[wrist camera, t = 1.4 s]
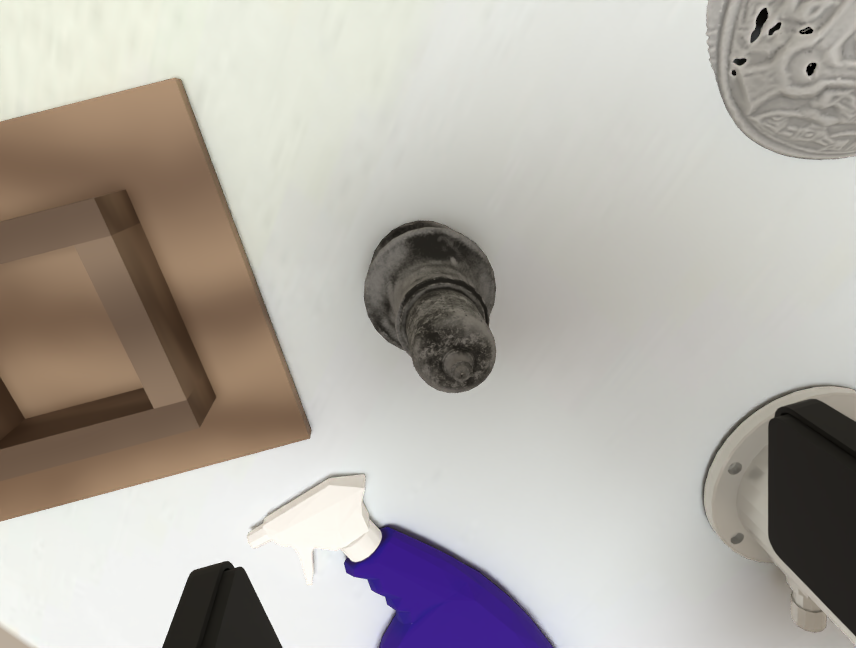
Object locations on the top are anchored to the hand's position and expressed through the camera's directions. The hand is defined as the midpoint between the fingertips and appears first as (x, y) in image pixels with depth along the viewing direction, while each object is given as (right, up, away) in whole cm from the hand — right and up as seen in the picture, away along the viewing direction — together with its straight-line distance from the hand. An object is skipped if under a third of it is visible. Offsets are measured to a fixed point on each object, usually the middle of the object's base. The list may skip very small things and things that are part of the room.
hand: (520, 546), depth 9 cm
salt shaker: (-2, +7, +18) cm, 19 cm away
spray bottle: (-2, -15, +26) cm, 30 cm away
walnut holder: (-19, +4, +17) cm, 25 cm away
